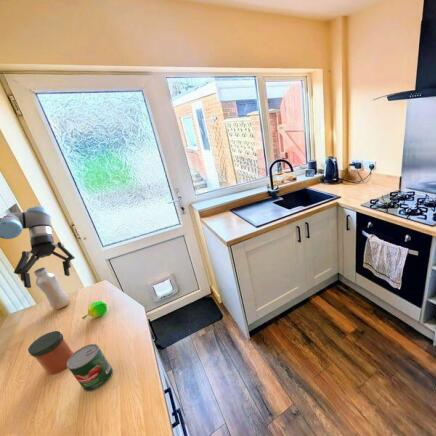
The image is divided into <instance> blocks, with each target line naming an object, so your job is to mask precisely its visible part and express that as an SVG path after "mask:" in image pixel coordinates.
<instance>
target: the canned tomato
mask: <svg viewBox="0 0 436 436" xmlns="http://www.w3.org/2000/svg"><path fill="white" fill-rule="evenodd" d="M73 353H74V354H73V355H72V356H71V357H70V358H69V359H68V361H67V369H68V370H69V372H70V373H71V374H72V376H73V377H74V378H75V379H76V381H77V382H78V383H79V385H80V387H82V389H83V391H85V392H87V393H91V392H95V391H97V390H99V389H101V388H102V387H103V386H105V385H106V384H107V383H108V382H109V381H110V379H111V378H112V375H113V373H114V369H113V367H112V365H111V364H110V363H109V361H108V359H107V358H106V356H105V354H104V353H103V351H102V350H101V348H100V347H99V345H98V344H97V343H90V344H87V345H84V346H82V347H81V348H79V349H78V350H76V351H75V352H73Z"/></svg>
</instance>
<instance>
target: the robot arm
mask: <svg viewBox="0 0 436 436" xmlns="http://www.w3.org/2000/svg"><path fill="white" fill-rule="evenodd" d="M8 213H9V214H7V215H6V216H4V217H3V218H0V239H2V240H3V239H4V240H12V239H15V238H17V237H19V236H20V235H21V234H22V232H23V230H24V229H25V230H26V229H28V232H29V233H28V234H29V240H30V241H29V242H30V248H31V249H30V250H28V251H25V250H22V251H21V257H20V259H19V261H18V262H17V264H16V267H15V269H14V271H13V274H15V275H20V280H21V282H23V286H24V288H26V289H30V288H32V283H31V275H30V273H29V271H31V268H33V266H34V265H35V264H36V262H38V261H39V260H40V259H43V258H46V257H50V256H51V255H53V256H56V257H57V258H59V259H61V260H63V261H61V262H62V269H63V273H64V276H66V277H69V276H71V274H70V268H72V265H71V261H72V260H75V259H76V257H75V256H74V255H73V254H72V253H71V252H70V251H69V250H68V249H67V248H66V247H65V245H64V243H62V242H61V241H58V242H57V243H55V239H54V237H53V236H54V233H53V227H52V220H51V216H50V210H49V209H48V208H46V207H45V206H40V205H39V206H38V205H37V206H30V207H28V208H27V209H26V211H24V212H23V211H21V212H8ZM56 248H57V249H59V250H61V251H62V252H63V254H65V255H66V256H67V257H66V256H64V255H62V254H60V253H58V252H56V251H55V250H56Z"/></svg>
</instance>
